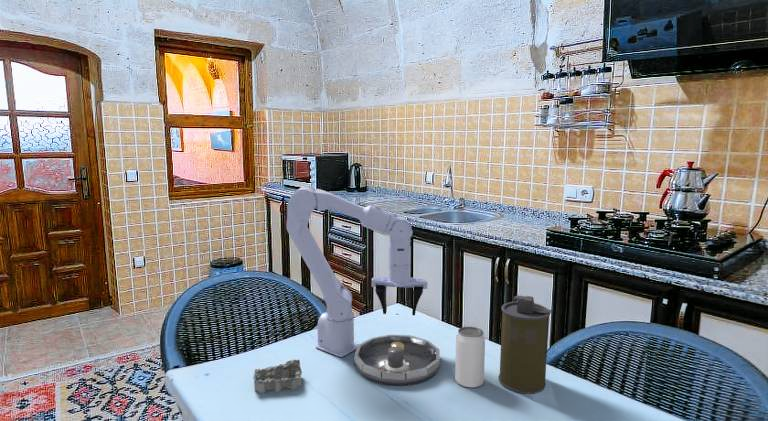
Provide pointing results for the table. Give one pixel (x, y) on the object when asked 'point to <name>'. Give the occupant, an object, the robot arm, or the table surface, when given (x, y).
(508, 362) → the canister
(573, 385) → the table surface
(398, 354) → the gear
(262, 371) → the egg carton
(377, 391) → the table surface
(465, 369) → the can
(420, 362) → the bowl
